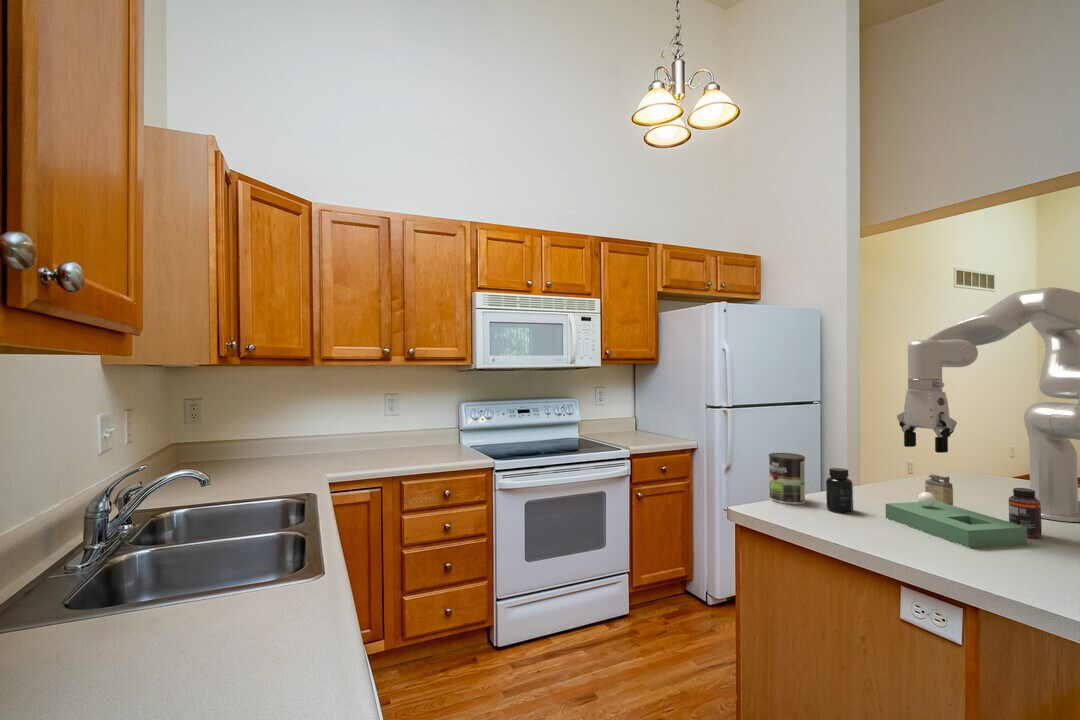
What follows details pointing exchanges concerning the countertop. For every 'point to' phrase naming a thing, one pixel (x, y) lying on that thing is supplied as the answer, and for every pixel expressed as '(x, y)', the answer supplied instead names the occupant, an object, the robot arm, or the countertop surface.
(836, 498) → the supplement bottle
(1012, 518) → the supplement bottle
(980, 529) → the putting board
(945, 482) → the lighter
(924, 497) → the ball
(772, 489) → the coffee can
